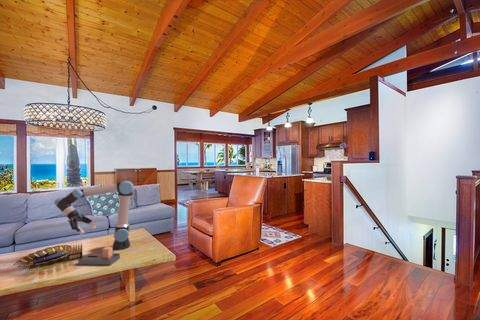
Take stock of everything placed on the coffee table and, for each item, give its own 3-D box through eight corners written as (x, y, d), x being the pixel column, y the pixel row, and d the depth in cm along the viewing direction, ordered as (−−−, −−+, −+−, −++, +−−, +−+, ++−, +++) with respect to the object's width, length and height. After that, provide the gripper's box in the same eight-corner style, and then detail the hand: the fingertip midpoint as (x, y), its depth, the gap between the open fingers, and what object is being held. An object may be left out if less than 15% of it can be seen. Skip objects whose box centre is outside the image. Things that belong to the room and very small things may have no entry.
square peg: (106, 260, 183) (106, 246, 183) (112, 260, 183) (112, 246, 183) (102, 262, 178) (102, 249, 178) (108, 262, 178) (108, 249, 178)
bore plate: (89, 258, 187) (89, 253, 187) (119, 258, 186) (119, 253, 186) (78, 265, 174) (78, 259, 174) (110, 265, 173) (110, 260, 173)
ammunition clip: (82, 257, 189) (82, 243, 189) (82, 257, 187) (82, 243, 187) (66, 260, 182) (66, 246, 182) (66, 261, 180) (66, 246, 181)
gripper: (79, 212, 194) (95, 229, 193) (55, 220, 169) (74, 239, 168) (85, 206, 194) (101, 223, 193) (61, 213, 169) (81, 232, 168)
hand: (89, 231), depth 181 cm, fingers open, 13 cm apart
